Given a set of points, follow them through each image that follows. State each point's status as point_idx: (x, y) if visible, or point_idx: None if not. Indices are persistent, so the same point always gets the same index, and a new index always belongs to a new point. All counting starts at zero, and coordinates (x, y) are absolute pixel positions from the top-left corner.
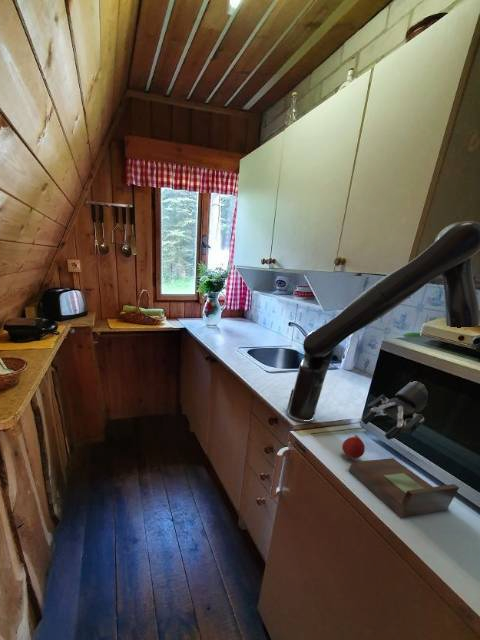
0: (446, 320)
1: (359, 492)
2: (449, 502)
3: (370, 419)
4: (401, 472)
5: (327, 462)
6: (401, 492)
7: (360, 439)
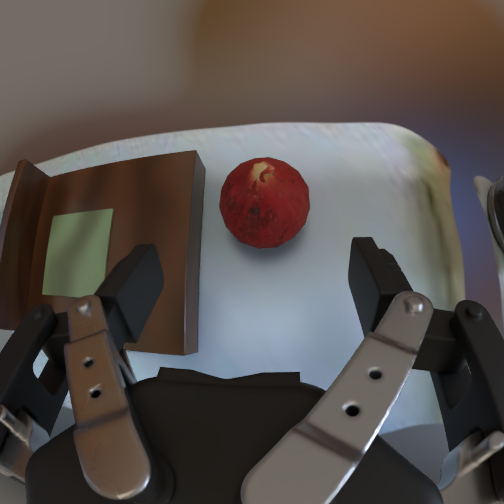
0: None
1: (131, 148)
2: None
3: (360, 304)
4: None
5: (256, 132)
6: (62, 208)
7: (249, 191)
